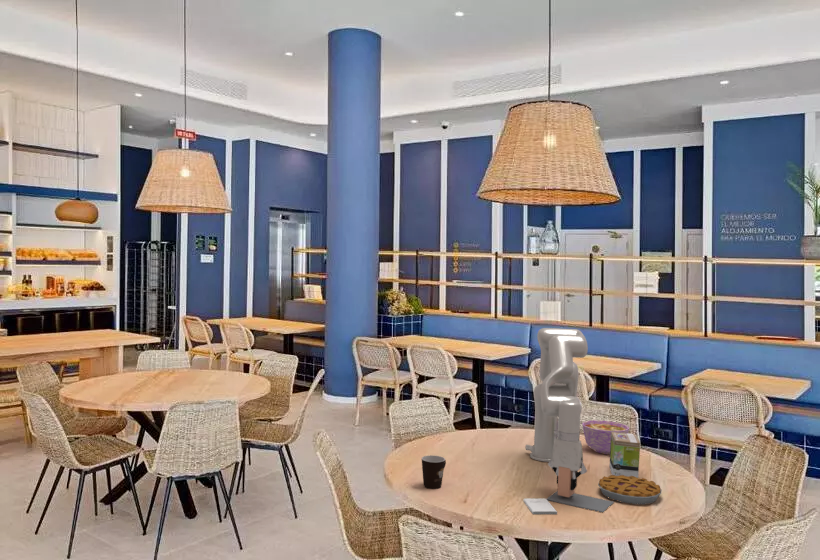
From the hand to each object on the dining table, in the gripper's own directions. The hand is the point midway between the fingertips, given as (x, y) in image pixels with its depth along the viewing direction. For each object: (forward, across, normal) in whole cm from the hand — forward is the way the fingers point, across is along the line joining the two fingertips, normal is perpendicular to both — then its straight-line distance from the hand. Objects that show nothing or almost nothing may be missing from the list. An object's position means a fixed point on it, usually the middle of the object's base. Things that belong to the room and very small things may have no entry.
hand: (566, 487), depth 241 cm
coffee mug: (+4, -43, -17) cm, 46 cm away
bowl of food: (+4, -8, +70) cm, 71 cm away
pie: (+4, +17, +18) cm, 25 cm away
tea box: (+4, +8, +43) cm, 44 cm away
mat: (+4, +5, 0) cm, 6 cm away
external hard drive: (+5, -4, -14) cm, 16 cm away
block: (+2, 0, 0) cm, 2 cm away
